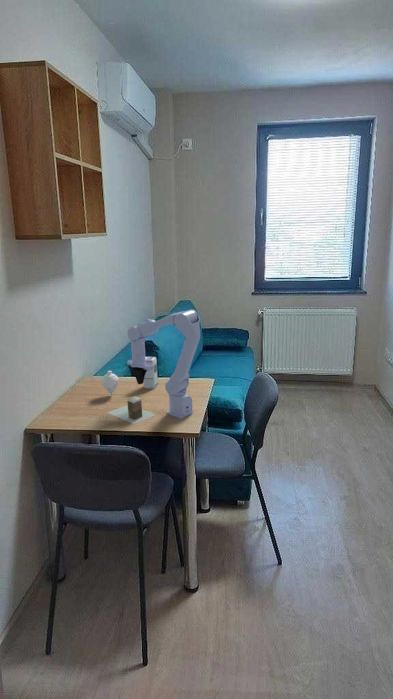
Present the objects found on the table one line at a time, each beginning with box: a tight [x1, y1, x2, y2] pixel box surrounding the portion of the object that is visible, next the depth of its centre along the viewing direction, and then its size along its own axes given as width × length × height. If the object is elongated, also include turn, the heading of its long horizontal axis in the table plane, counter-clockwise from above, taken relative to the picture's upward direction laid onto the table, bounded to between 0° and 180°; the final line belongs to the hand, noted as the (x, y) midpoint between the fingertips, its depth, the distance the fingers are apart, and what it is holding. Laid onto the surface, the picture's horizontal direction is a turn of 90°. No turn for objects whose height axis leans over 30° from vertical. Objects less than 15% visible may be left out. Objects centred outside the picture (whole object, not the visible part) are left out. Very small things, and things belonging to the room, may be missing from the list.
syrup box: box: [143, 356, 159, 389], centre depth 222 cm, size 6×6×14 cm
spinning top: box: [101, 370, 120, 396], centre depth 212 cm, size 8×8×12 cm
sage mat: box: [106, 404, 157, 425], centre depth 191 cm, size 18×12×1 cm, turn 46°
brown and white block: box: [127, 396, 143, 420], centre depth 186 cm, size 4×4×8 cm
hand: (140, 383), depth 197 cm, fingers closed
